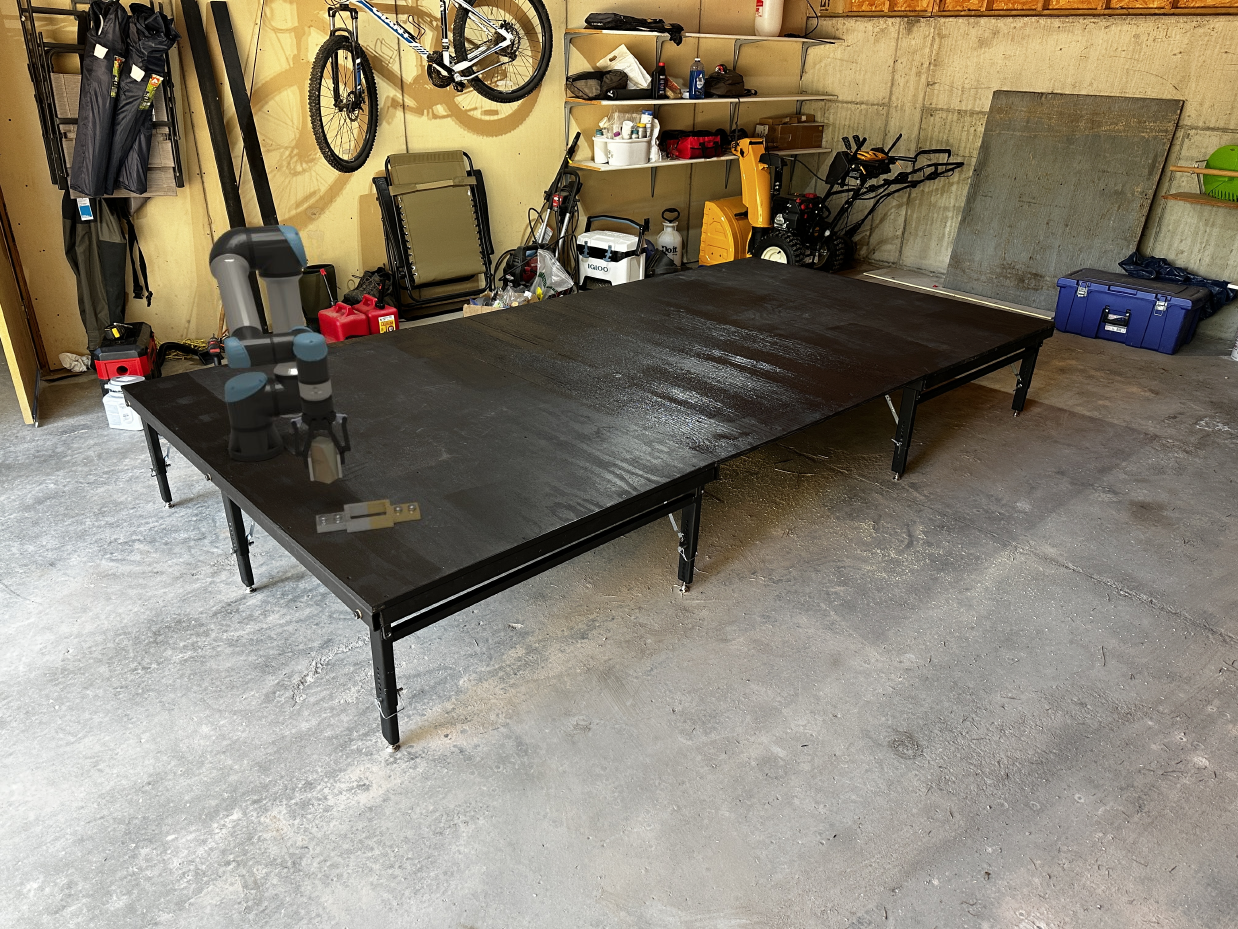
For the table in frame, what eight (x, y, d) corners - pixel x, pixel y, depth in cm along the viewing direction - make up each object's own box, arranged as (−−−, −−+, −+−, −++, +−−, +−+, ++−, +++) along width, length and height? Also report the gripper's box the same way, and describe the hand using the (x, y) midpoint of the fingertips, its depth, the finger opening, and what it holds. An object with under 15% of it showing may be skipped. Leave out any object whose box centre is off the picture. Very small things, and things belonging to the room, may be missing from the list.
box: (313, 480, 218) (307, 442, 213) (324, 472, 221) (318, 435, 216) (330, 484, 216) (324, 446, 211) (340, 476, 220) (335, 439, 215)
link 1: (317, 536, 207) (316, 526, 206) (316, 518, 215) (315, 508, 214) (370, 529, 211) (369, 519, 210) (367, 512, 219) (366, 502, 218)
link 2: (370, 529, 211) (369, 519, 210) (367, 512, 219) (366, 502, 218) (421, 522, 216) (420, 512, 214) (416, 505, 223) (415, 495, 222)
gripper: (274, 404, 202) (287, 488, 212) (357, 397, 208) (365, 479, 219) (274, 393, 208) (286, 474, 219) (355, 386, 214) (363, 466, 225)
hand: (326, 476), depth 219 cm, fingers closed on box, 6 cm apart
